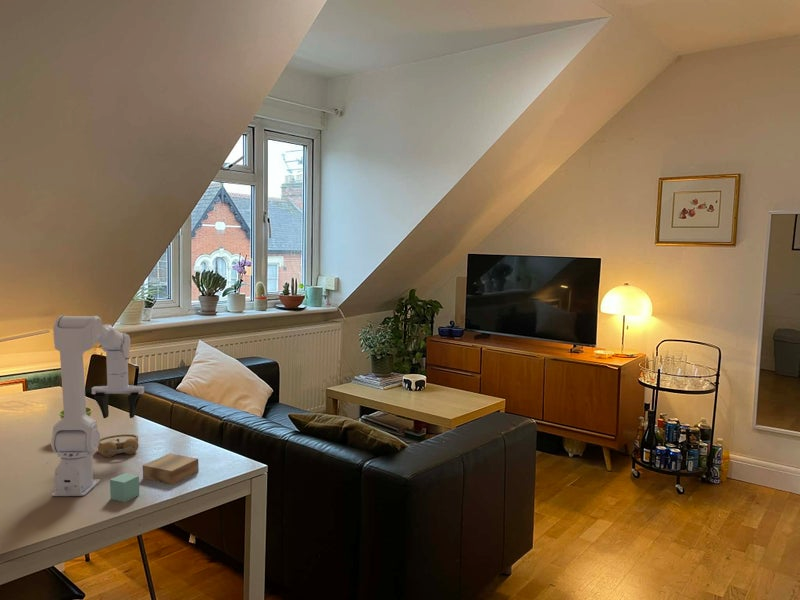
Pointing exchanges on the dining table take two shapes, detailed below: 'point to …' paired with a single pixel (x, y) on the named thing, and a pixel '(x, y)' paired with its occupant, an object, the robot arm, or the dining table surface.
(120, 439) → the alarm clock
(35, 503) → the dining table surface
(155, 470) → the walnut box
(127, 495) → the teal block
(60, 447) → the robot arm
